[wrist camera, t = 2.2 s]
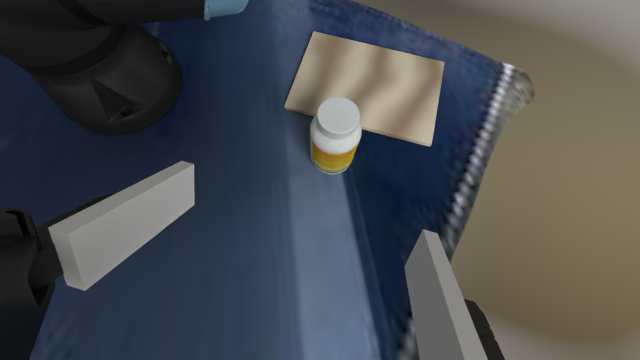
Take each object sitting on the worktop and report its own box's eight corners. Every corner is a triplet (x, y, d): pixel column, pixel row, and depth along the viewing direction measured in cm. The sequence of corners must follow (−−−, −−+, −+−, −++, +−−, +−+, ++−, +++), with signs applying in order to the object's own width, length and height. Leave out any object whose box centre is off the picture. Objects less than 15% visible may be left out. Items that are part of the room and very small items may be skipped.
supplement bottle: (306, 142, 33) (303, 95, 24) (345, 133, 34) (357, 84, 24) (316, 180, 31) (317, 145, 22) (357, 170, 32) (374, 132, 23)
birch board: (284, 108, 35) (284, 106, 34) (313, 34, 39) (313, 31, 38) (429, 146, 33) (431, 144, 33) (442, 65, 38) (444, 62, 37)
